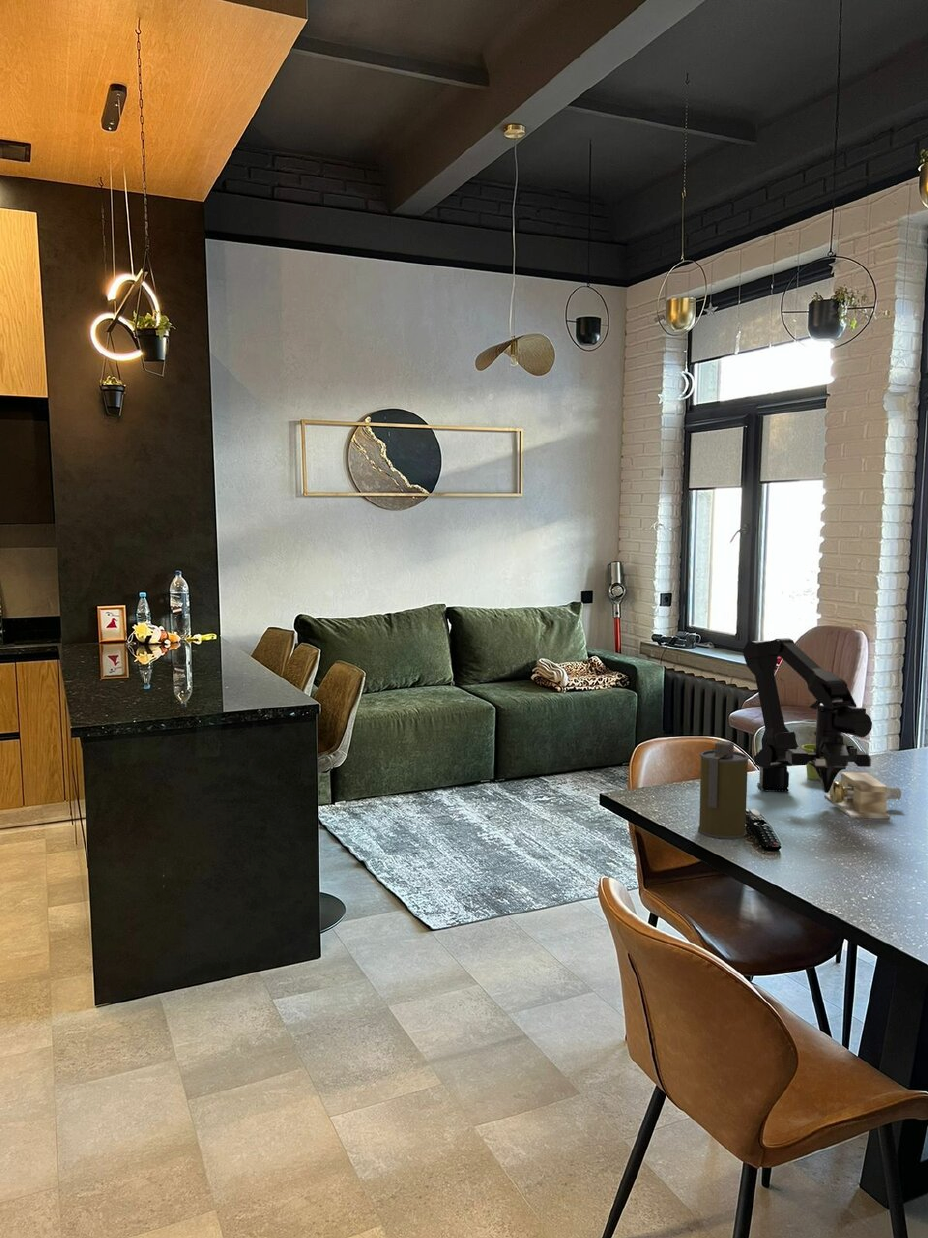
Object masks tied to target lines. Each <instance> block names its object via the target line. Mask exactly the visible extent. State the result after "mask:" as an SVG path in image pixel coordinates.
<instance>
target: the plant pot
mask: <svg viewBox="0 0 928 1238" xmlns="http://www.w3.org/2000/svg"><path fill="white" fill-rule="evenodd" d="M814 747H816V743H814V744H813V743H810V744H803V745H801V748H802V750H804V751H805V752H807V753H814V754H815V752H814ZM820 758H824V757H820ZM809 762H810V761H809ZM805 766H806V767H805V768H806V776H807V778H808V779H810V780H812V779H813V781H815V780H819V781H820V779H819V776H818V774H817V772H816V770H815V768H814V767H813V766H811V765H810V764H809V763H807V764H806V765H805Z"/></svg>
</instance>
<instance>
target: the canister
mask: <svg viewBox="0 0 928 1238" xmlns="http://www.w3.org/2000/svg"><path fill="white" fill-rule="evenodd" d="M734 747H735V743H734V742H732V741H725V740H723V741H720V742H719V741H718V742H715V745H714V747H713V748H712V749H709V750H708V749H707V750H704V751H701V752H700V754H699V756H700V784H699V787H700V788H699V821H698V823H699V824H698V825H699V826H698V827H697V831H698V832H699V833H700V834H702V835H704V836H707V837H709V838H715V839H721V840H735V839H740V838H743V837H746V835H747V834H748V833H747V830H746V829H747V828H746V826H747V802H748V801H747V800H748V799H747V798H748V796H747V795H748V794H747V792H748V763H749V762H748V761H749V759H750V757H749V755H748V754H746V753H743V752H740V751H735V748H734Z"/></svg>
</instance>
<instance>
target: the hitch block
mask: <svg viewBox="0 0 928 1238" xmlns="http://www.w3.org/2000/svg"><path fill="white" fill-rule="evenodd" d="M840 782H841V783H842V786H843V787H854V792H853V799H851V798H843V802H842V803H833V802H832V801H831V798H830V794H824V798H825V799H826V800H828V801H829V802H830V803H831V804H833V805H834V806H836V807H837V808H838V809H839V810H840V811H842V812H843V813H844V814H845V815H847V816H848V817H850V818H852V819H888V820H889V819H891V815H890V814H889V813H887V800H888V799H887V788H888V786H887V785H886V784H884V783H883V782H881V781H880V780H877V779H876V778H875V777H873V776H871V775H870V774H868V773H866V772H845V771H844V772H841V771H840Z"/></svg>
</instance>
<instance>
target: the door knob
mask: <svg viewBox="0 0 928 1238" xmlns="http://www.w3.org/2000/svg"><path fill="white" fill-rule="evenodd" d="M853 792H854V787H843V786H842V783H841V781H833V784H832V786H831V788H830V791H829V795H830V798H831V801H832V802H833V803H842V802H843V798H851V799H853ZM901 798H902V791H901V789H900V787H887V800H901ZM832 802H831V803H832ZM833 803H832V804H833Z"/></svg>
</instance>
